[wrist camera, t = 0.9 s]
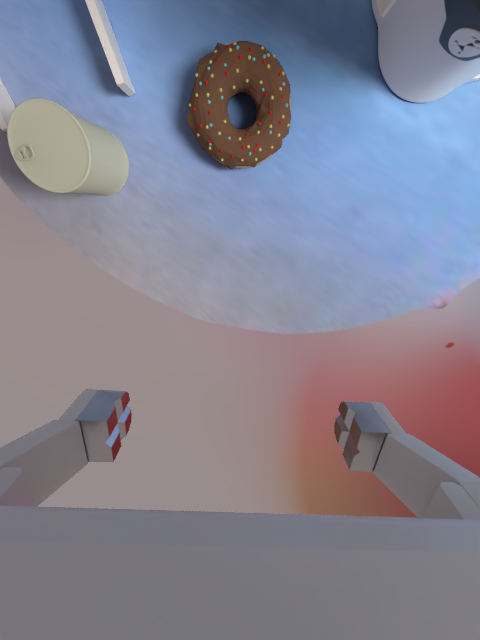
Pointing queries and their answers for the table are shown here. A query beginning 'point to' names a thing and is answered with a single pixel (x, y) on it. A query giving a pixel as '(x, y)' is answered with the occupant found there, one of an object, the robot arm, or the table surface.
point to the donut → (224, 82)
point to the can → (65, 150)
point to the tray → (3, 105)
